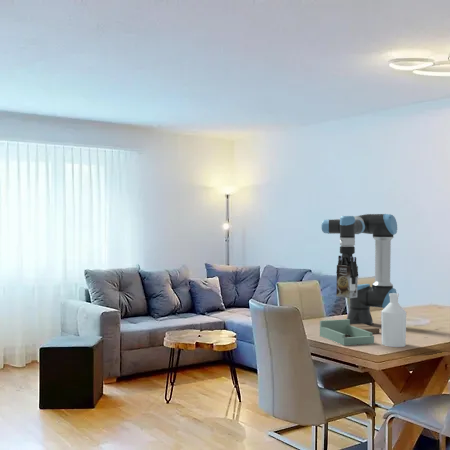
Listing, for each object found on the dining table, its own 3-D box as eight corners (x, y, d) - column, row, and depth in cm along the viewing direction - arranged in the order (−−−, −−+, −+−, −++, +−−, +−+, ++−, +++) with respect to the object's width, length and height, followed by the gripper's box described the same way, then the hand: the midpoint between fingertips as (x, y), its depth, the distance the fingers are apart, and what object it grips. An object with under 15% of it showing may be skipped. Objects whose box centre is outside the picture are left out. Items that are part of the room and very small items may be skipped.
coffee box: (335, 296, 304) (336, 265, 304) (343, 295, 308) (344, 264, 308) (350, 298, 297) (350, 266, 297) (358, 297, 301) (358, 265, 301)
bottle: (395, 348, 283) (396, 295, 283) (375, 343, 293) (376, 293, 292) (411, 345, 290) (411, 294, 290) (391, 341, 299) (391, 291, 299)
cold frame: (319, 335, 312) (319, 320, 312) (348, 334, 317) (348, 319, 317) (343, 345, 288) (343, 328, 288) (374, 343, 293) (374, 327, 293)
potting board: (338, 329, 330) (338, 325, 330) (363, 328, 335) (363, 323, 335) (353, 334, 315) (353, 330, 315) (379, 333, 320) (379, 328, 320)
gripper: (329, 245, 312) (329, 286, 312) (352, 247, 290) (352, 292, 291) (342, 244, 315) (342, 286, 315) (365, 247, 293) (365, 291, 293)
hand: (346, 289), depth 303 cm, fingers closed on coffee box, 10 cm apart
